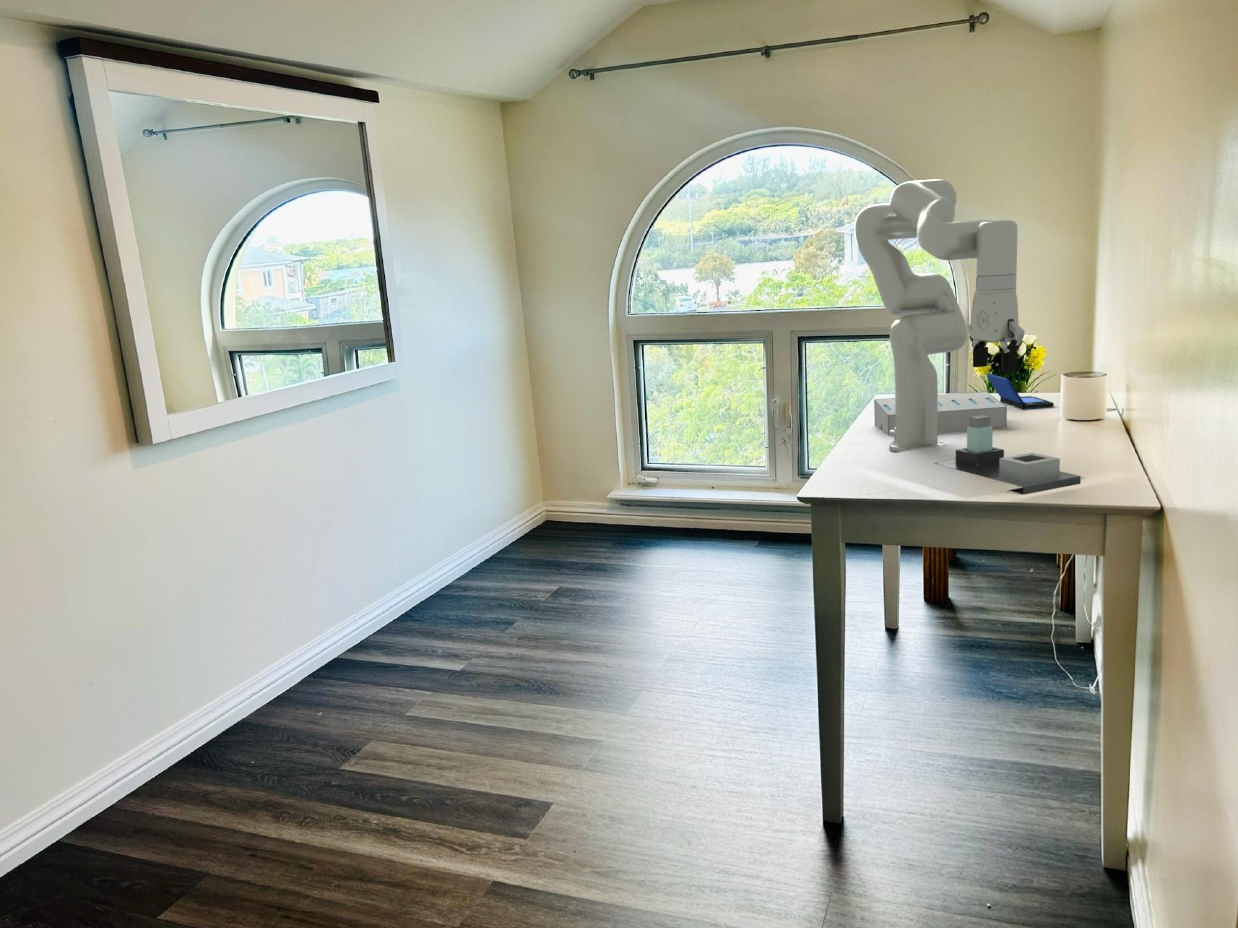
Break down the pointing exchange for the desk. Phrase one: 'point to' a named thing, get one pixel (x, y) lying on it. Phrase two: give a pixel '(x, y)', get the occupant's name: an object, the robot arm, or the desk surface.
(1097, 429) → the desk surface
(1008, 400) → the handheld game console
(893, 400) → the grey slotted box
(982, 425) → the plug
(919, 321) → the robot arm
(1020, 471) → the panel
